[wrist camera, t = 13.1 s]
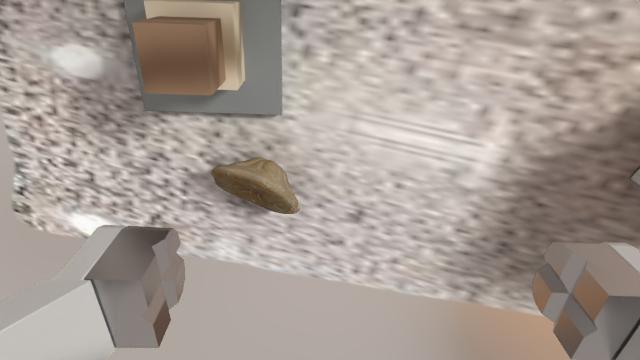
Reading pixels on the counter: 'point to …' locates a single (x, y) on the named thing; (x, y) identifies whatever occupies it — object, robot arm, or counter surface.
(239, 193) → the fossil
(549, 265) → the robot arm
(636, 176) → the supplement box
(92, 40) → the counter surface
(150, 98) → the build plate
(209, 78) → the walnut cube
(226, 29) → the maple base
